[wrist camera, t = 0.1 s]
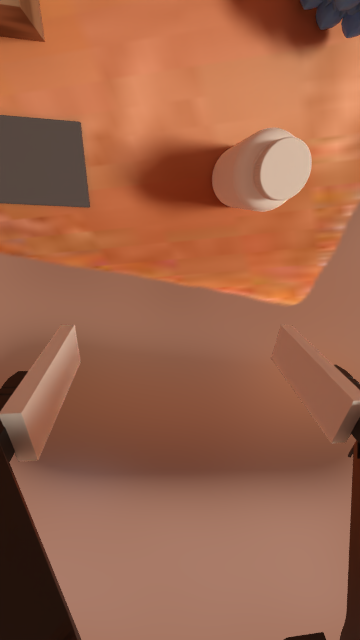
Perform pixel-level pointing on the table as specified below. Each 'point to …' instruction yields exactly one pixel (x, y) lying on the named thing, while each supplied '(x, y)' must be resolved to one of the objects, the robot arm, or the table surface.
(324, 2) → the grapes
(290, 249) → the table surface
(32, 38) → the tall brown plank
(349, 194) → the table surface
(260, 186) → the pill bottle
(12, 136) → the mat
